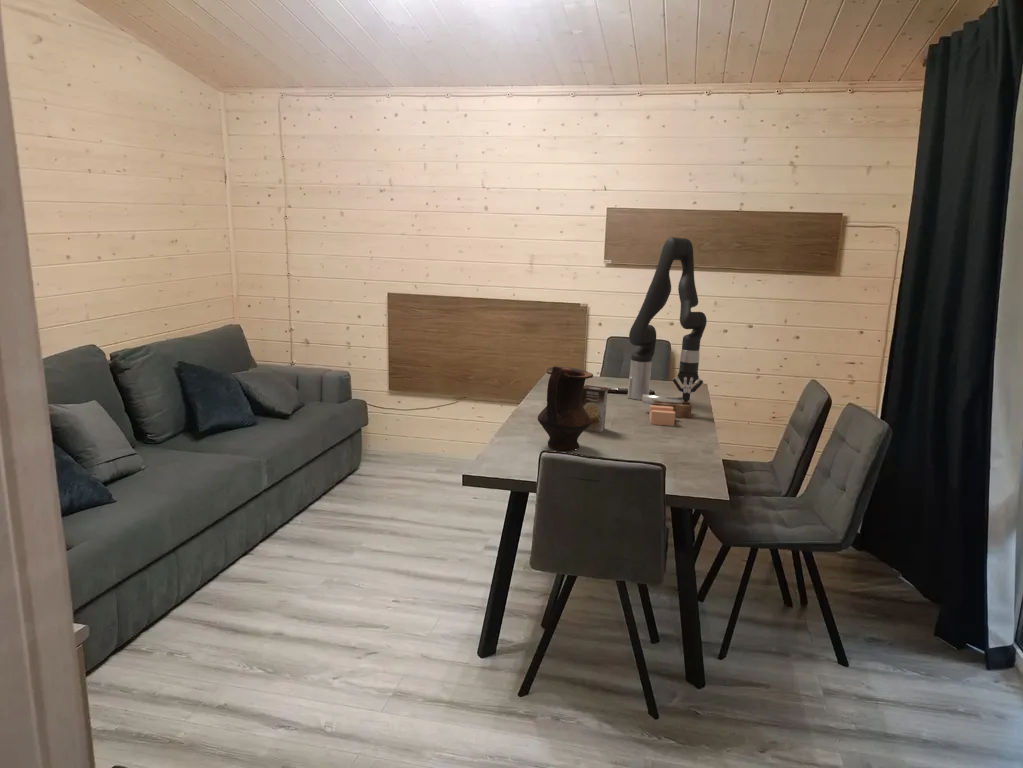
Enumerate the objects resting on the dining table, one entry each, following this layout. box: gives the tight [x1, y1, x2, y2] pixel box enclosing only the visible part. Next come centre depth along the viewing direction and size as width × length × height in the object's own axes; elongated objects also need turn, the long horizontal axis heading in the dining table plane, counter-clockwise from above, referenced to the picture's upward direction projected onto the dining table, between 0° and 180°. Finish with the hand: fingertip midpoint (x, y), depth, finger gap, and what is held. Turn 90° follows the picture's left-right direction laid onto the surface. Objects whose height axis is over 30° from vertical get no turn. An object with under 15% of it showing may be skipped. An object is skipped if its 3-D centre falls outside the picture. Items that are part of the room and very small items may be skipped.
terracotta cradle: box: [648, 404, 676, 427], centre depth 290 cm, size 9×11×5 cm
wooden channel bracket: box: [649, 400, 693, 419], centre depth 302 cm, size 16×9×5 cm, turn 83°
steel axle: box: [641, 394, 683, 405], centre depth 302 cm, size 16×4×4 cm, turn 82°
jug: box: [537, 364, 594, 452], centre depth 247 cm, size 21×18×30 cm
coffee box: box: [581, 384, 609, 433], centre depth 274 cm, size 9×6×16 cm
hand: (685, 401), depth 301 cm, fingers closed
